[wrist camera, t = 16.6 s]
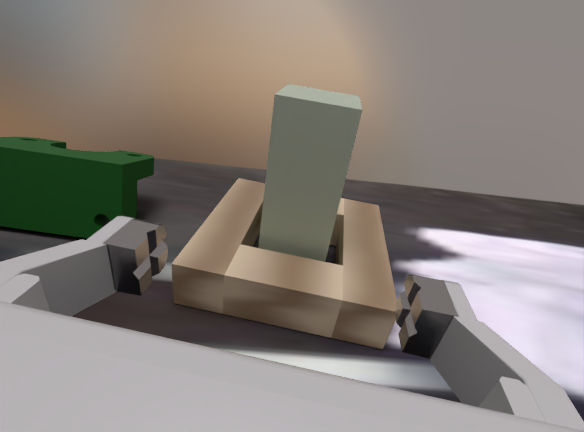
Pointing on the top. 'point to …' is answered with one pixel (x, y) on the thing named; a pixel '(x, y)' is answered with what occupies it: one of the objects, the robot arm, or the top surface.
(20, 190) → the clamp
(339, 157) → the peg
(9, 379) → the robot arm
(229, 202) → the socket block
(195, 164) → the top surface
